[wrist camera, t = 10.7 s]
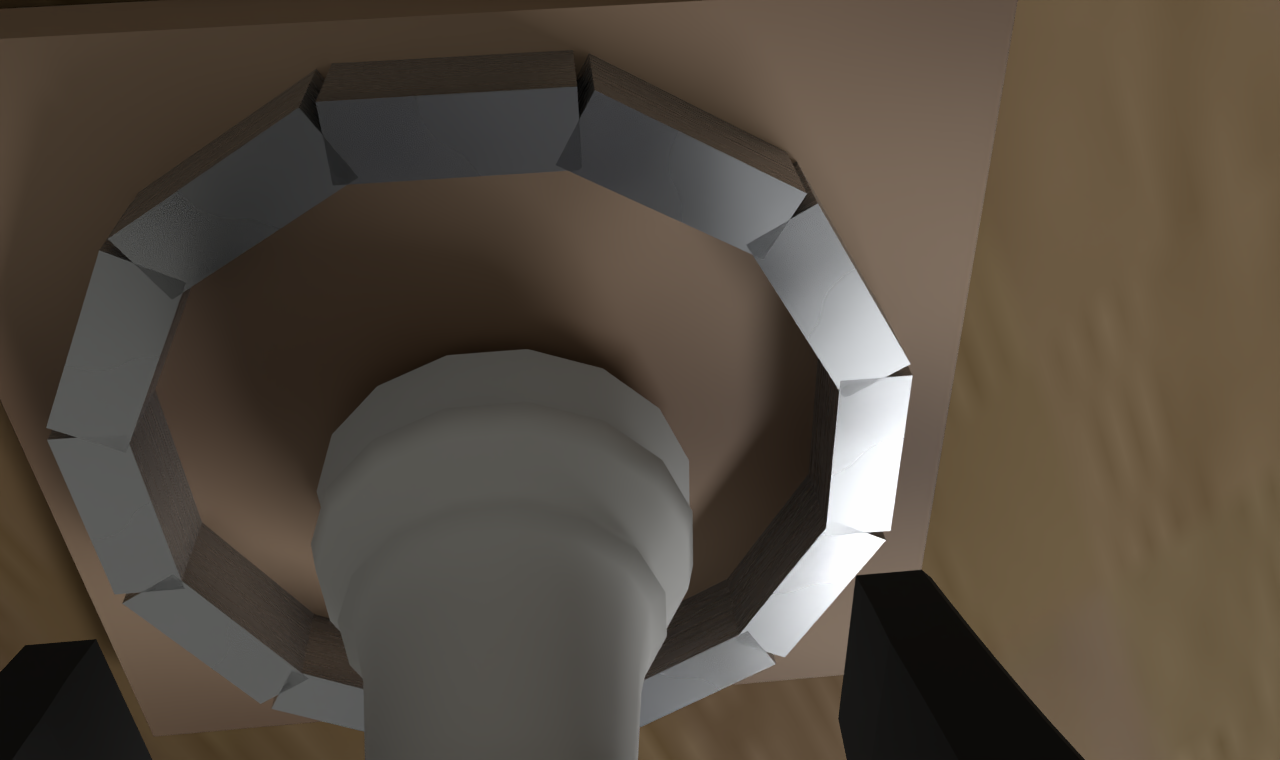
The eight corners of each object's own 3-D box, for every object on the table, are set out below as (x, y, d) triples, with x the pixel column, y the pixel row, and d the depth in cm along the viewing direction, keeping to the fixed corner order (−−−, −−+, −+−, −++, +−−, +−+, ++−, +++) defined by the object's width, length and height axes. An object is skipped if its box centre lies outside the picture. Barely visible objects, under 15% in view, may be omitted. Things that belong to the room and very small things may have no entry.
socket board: (886, 619, 17) (924, 724, 15) (172, 681, 17) (133, 797, 15) (985, -44, 11) (1062, 15, 10) (-109, 14, 11) (-223, 86, 9)
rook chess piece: (243, 458, 13) (-40, 1311, 6) (536, 252, 12) (552, 1051, 5) (487, 649, 15) (461, 1422, 9) (755, 494, 14) (956, 1259, 8)
